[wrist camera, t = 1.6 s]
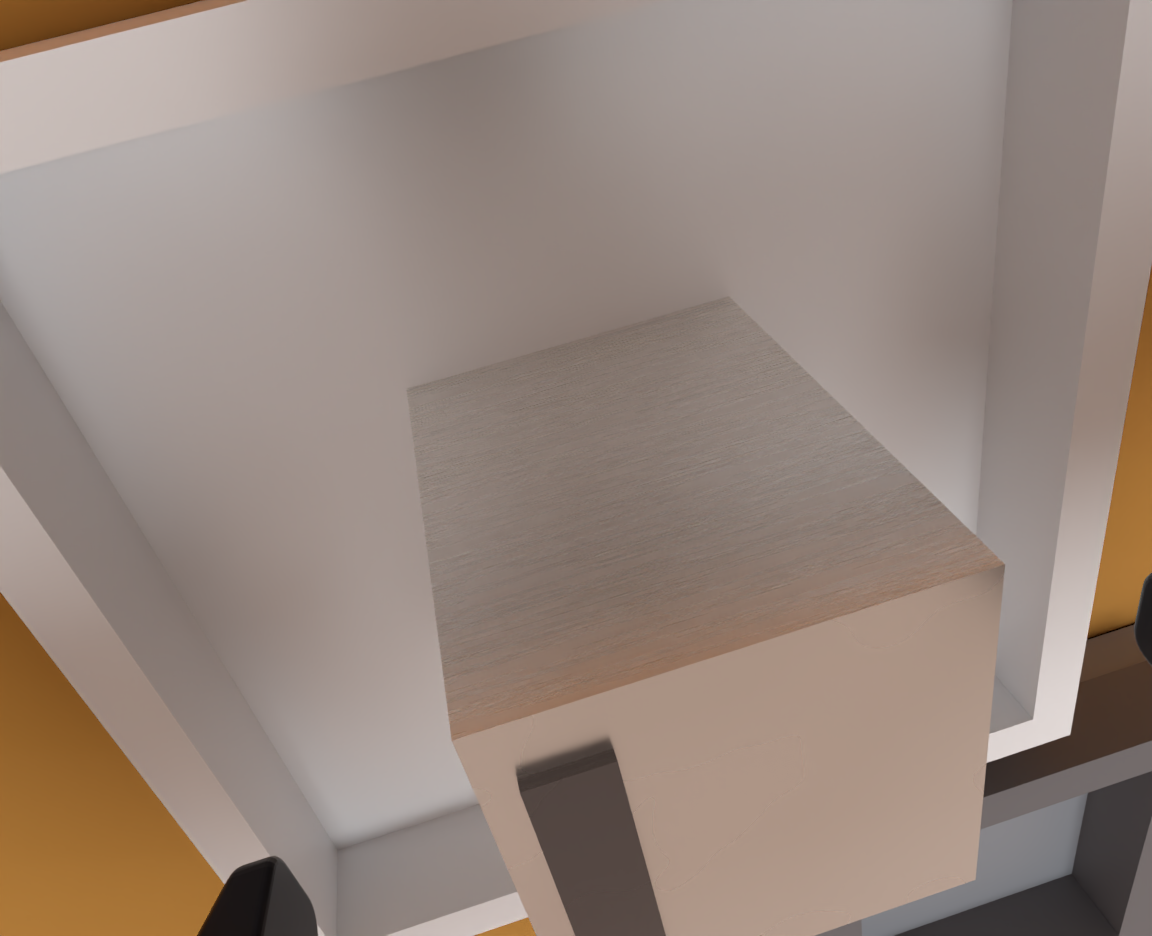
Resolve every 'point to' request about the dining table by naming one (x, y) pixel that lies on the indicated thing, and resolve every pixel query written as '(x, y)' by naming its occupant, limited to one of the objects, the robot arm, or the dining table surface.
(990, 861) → the plate
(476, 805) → the white square tray
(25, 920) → the dining table surface
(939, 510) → the billet loose
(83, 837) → the dining table surface
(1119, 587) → the dining table surface
